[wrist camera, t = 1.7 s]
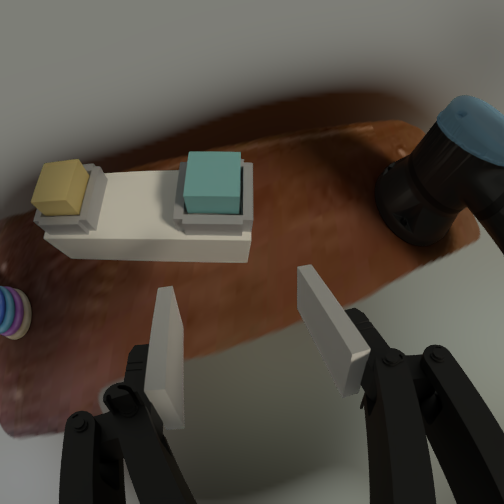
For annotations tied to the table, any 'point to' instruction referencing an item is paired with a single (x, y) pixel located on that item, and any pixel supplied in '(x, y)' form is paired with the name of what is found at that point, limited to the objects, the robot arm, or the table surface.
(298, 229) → the table surface
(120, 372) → the table surface
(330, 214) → the table surface
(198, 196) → the teal button
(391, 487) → the robot arm
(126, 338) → the table surface
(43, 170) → the mustard button
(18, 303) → the stacking toy
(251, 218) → the button console
